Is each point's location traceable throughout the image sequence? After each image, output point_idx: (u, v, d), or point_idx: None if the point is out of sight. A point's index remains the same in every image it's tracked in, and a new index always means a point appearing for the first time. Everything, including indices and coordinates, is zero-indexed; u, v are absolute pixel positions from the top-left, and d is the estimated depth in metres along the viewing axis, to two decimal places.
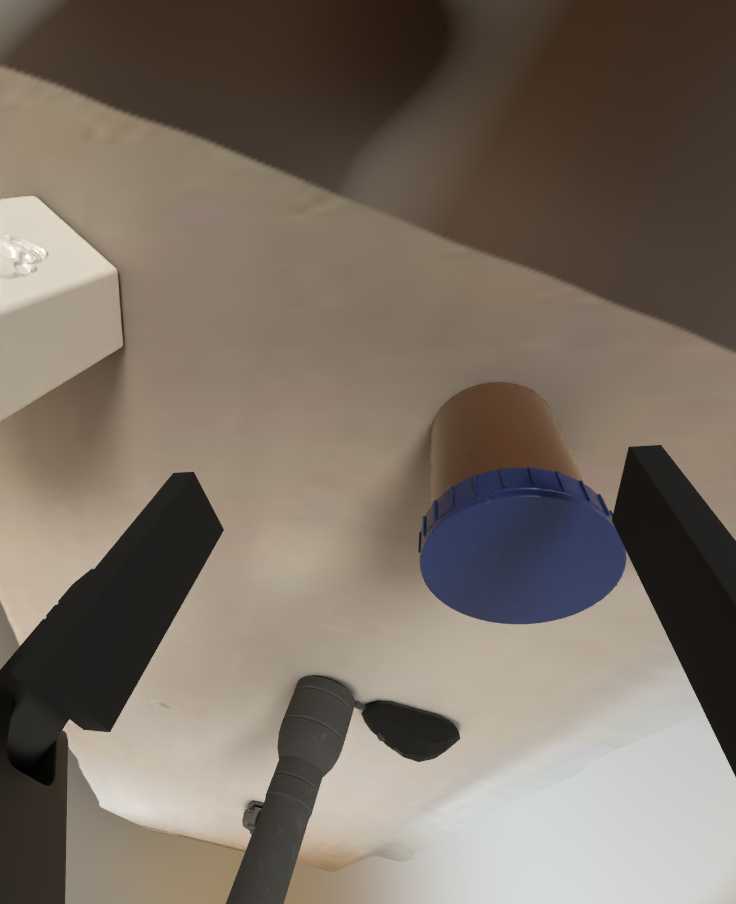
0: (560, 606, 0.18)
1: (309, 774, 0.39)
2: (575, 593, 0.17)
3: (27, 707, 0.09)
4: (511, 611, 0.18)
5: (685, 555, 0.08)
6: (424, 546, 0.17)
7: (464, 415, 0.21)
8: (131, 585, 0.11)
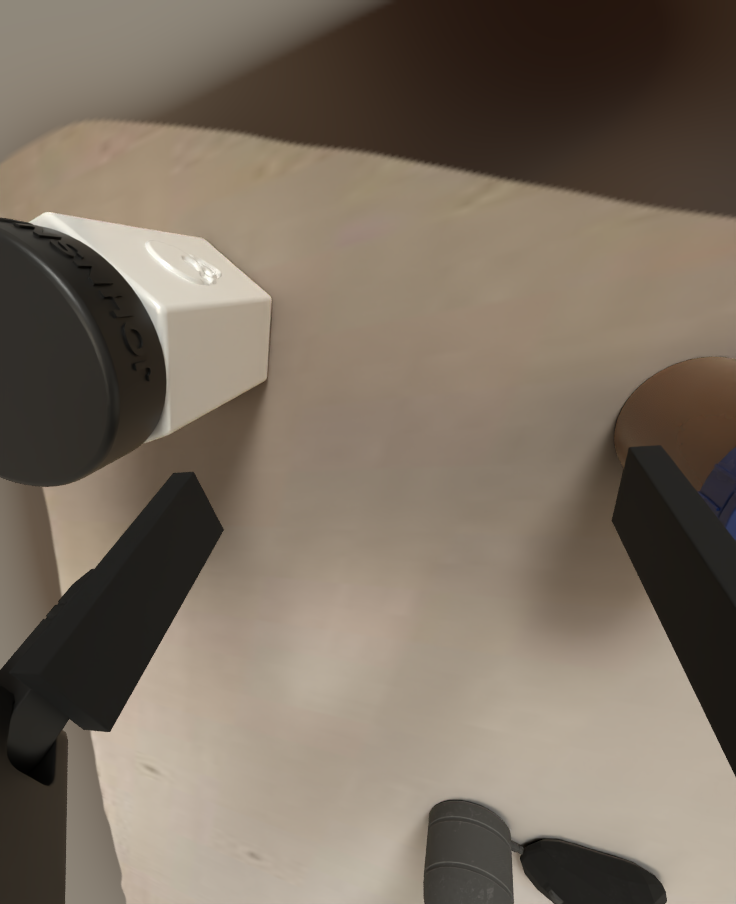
0: None
1: None
2: None
3: (27, 707, 0.09)
4: None
5: (685, 555, 0.08)
6: (728, 521, 0.12)
7: (680, 388, 0.18)
8: (131, 585, 0.11)
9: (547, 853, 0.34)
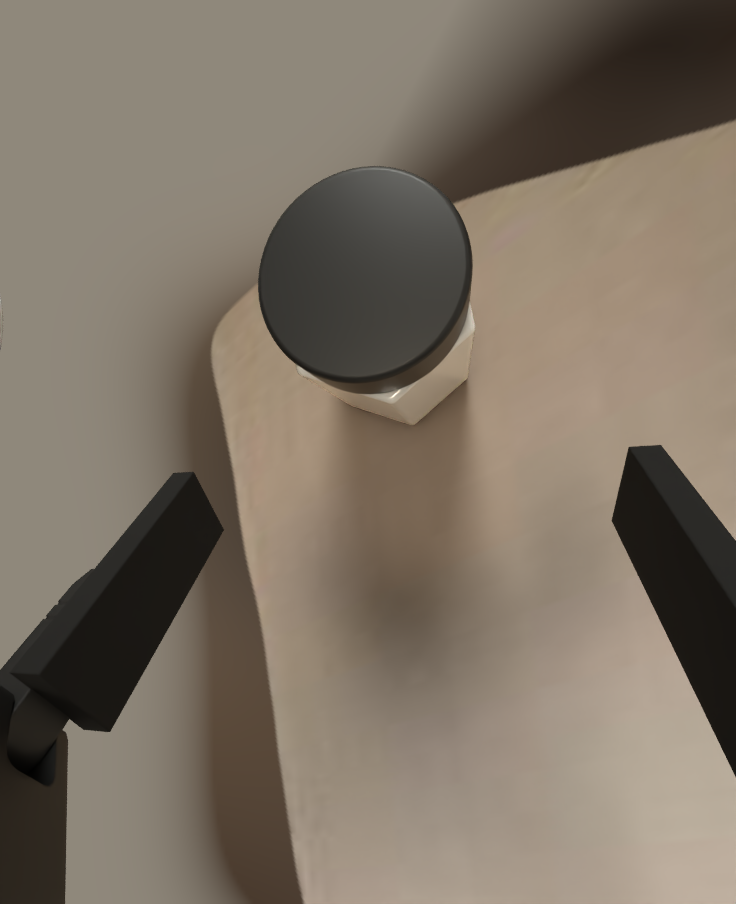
0: None
1: None
2: None
3: (27, 707, 0.09)
4: None
5: (685, 555, 0.08)
6: None
7: None
8: (131, 585, 0.11)
9: None
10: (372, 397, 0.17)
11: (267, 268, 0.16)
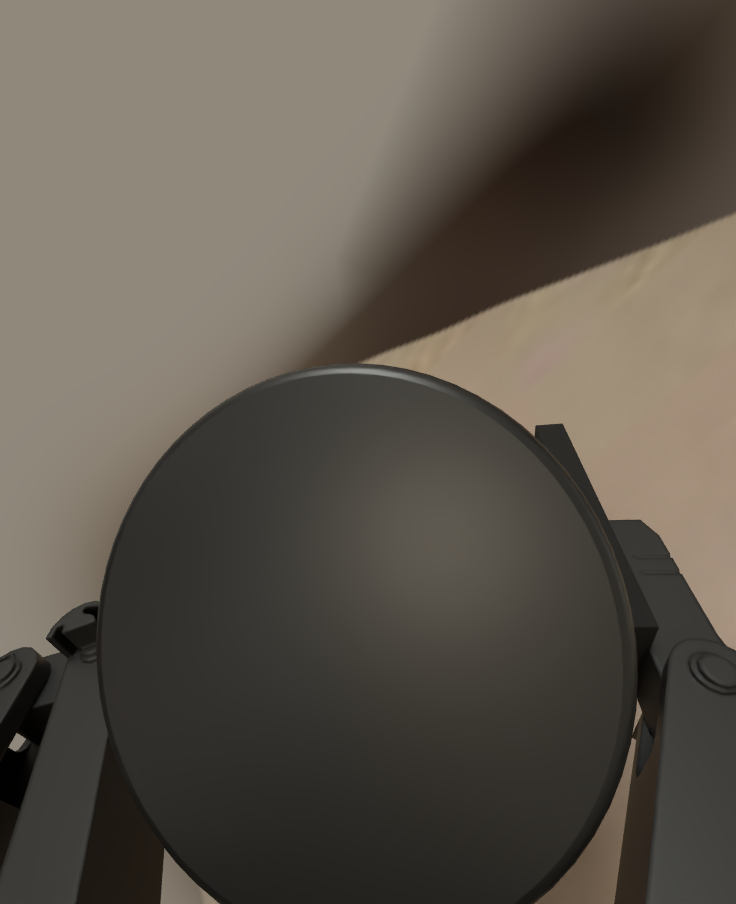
0: None
1: None
2: None
3: None
4: None
5: None
6: None
7: None
8: None
9: None
10: None
11: (114, 617, 0.07)
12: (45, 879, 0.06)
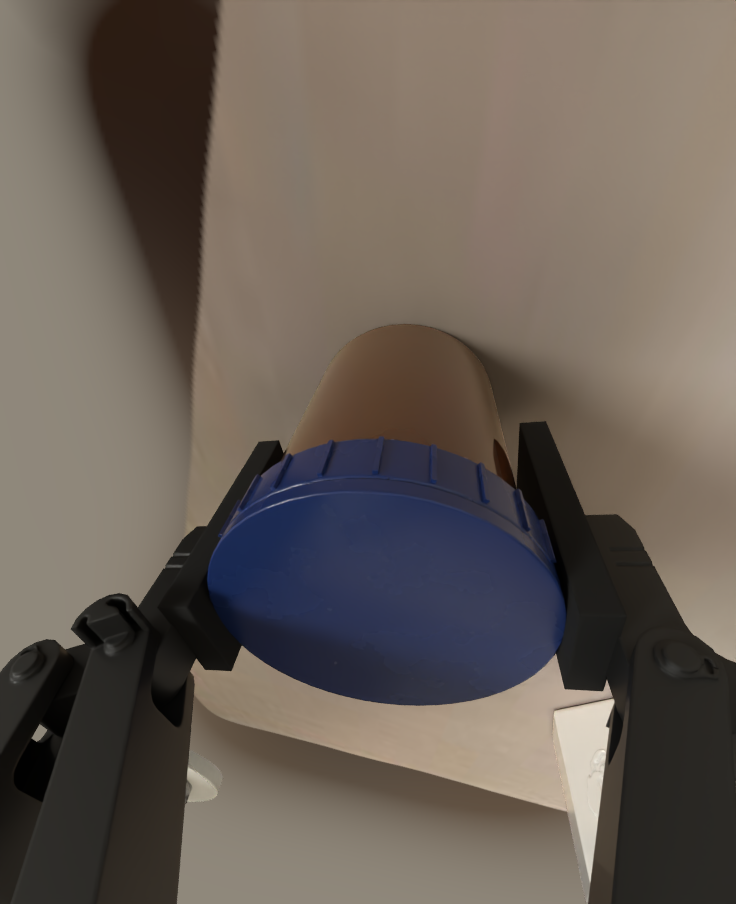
0: (493, 571, 0.08)
1: None
2: (442, 554, 0.08)
3: (168, 649, 0.09)
4: (514, 632, 0.09)
5: (540, 507, 0.10)
6: (349, 696, 0.12)
7: None
8: None
9: None
10: None
11: None
12: (67, 870, 0.06)
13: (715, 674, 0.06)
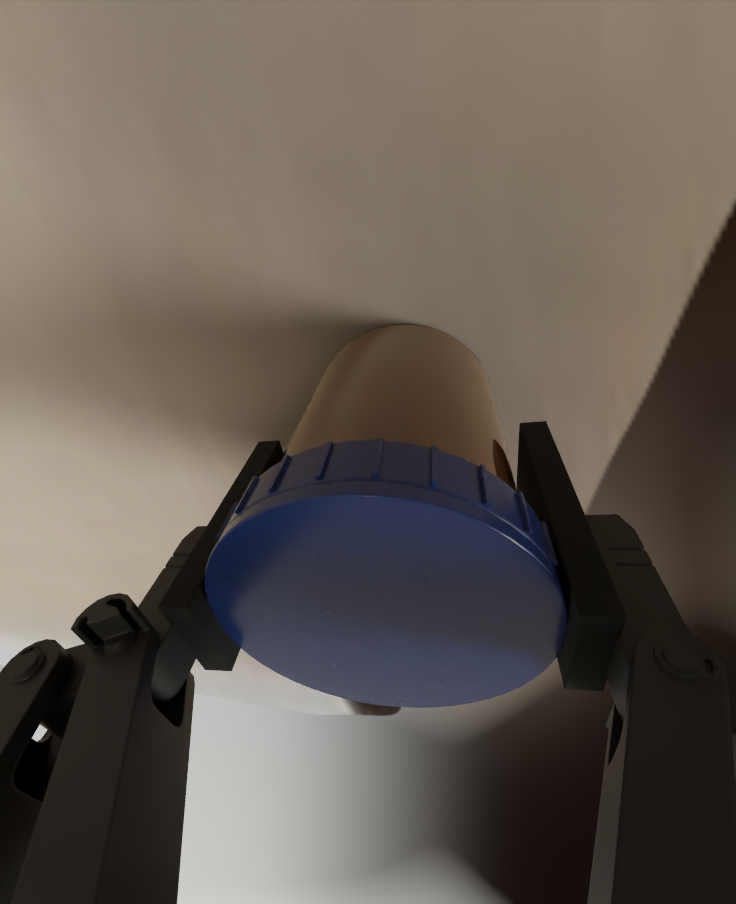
0: (494, 575, 0.08)
1: None
2: (442, 557, 0.07)
3: (169, 649, 0.09)
4: (515, 636, 0.09)
5: (540, 507, 0.10)
6: (348, 698, 0.12)
7: (471, 378, 0.13)
8: None
9: None
10: None
11: None
12: (67, 870, 0.06)
13: (715, 674, 0.06)
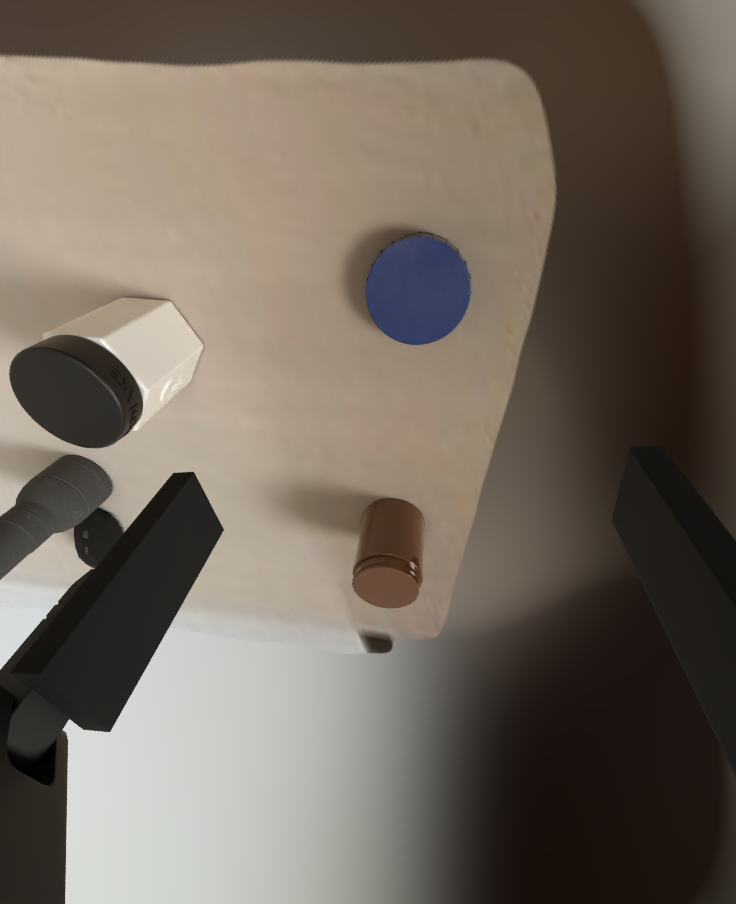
0: (449, 263, 0.30)
1: (51, 531, 0.44)
2: (436, 258, 0.30)
3: (27, 707, 0.09)
4: (456, 291, 0.31)
5: (685, 555, 0.08)
6: (404, 342, 0.34)
7: (413, 522, 0.44)
8: (131, 585, 0.11)
9: (107, 521, 0.54)
10: None
11: (61, 359, 0.27)
12: None
13: None
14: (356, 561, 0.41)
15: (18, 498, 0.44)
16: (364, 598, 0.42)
